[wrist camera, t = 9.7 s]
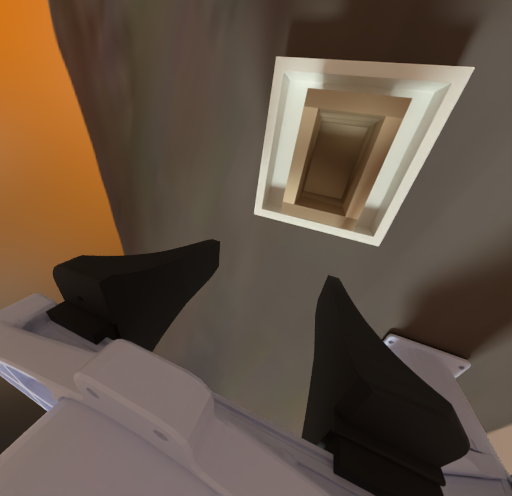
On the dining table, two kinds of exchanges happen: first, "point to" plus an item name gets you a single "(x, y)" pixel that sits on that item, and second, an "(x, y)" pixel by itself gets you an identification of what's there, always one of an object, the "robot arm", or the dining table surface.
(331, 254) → the dining table surface
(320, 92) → the pine crate
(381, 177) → the white square tray
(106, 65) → the dining table surface
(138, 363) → the robot arm
